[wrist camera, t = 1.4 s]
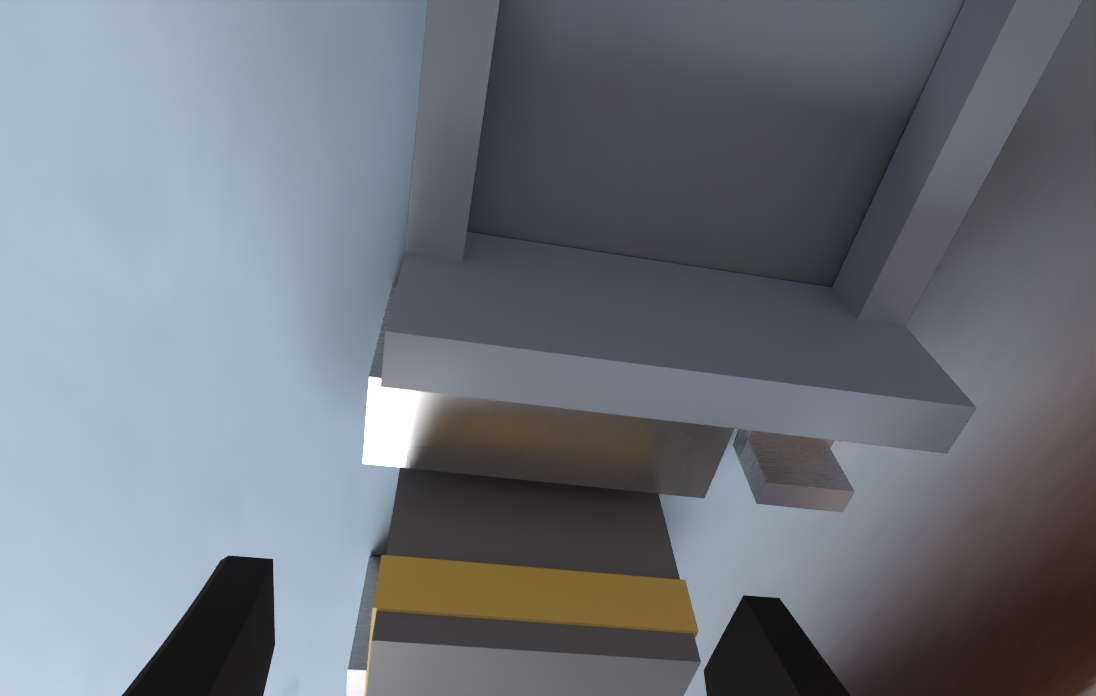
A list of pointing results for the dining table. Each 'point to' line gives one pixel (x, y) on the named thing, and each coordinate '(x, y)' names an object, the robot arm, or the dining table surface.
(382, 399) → the brushed metal block
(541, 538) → the block
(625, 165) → the dining table surface
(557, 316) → the holder
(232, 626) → the robot arm
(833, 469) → the clip
